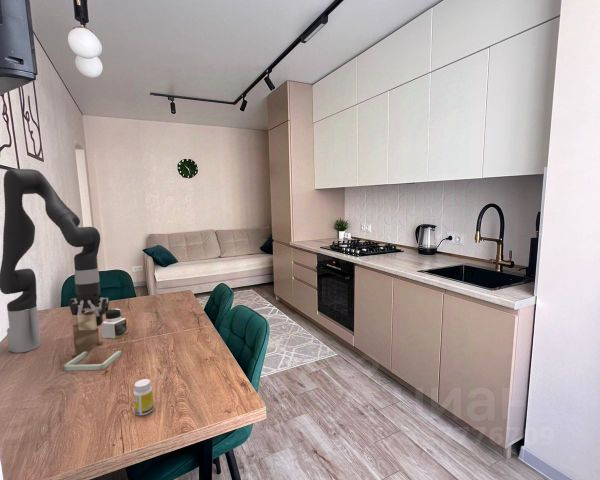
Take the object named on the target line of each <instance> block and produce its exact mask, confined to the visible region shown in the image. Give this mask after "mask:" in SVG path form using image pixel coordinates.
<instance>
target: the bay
mask: <svg viewBox="0 0 600 480" xmlns="http://www.w3.org/2000/svg"><path fill="white" fill-rule="evenodd" d="M85 354H86V356H85ZM121 355H122V350H117V351H116V352H114V353H113V354H112V355H111V356H109V357H108V358H107V359H106V360H105V361H103V362H102V363H96V364H95V363H91V364H77V363H78V362H80V361H81V360H82V359H84V358H85V357H87V356H88V352H83V353H81V354H80V355H78V356H77V357H74V358H73V359H71V360H70V361H68V362H67V363H65V364H64V365H62V366H61V369H62V372H63V371H98V370H99V371H100V370H101V371H102V370H105V369H106V368H107V367H108V366H110V365H111V364H112V363H113V362H114V361H115V360H116V359H117V358H119V357H120V356H121ZM84 356H85V357H84Z"/></svg>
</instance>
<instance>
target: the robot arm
mask: <svg viewBox="0 0 600 480" xmlns="http://www.w3.org/2000/svg"><path fill="white" fill-rule="evenodd" d="M3 194H4V195H3V198H4V221H3V222H4V223H3V233H2V234H3V235H2V259H1V266H0V292H1V293H2V294H4V295H11V294H12V295H13V294H18V293H21V294H20V296H18V297H17V298H15V299H13V300H11V301H9V302H7V304H6V308H7V319H8V327H7V329H6V332H7V341H8V352H12V353H14V354H19V353H26V352H30V351H33V350H36V349H38V348H39V347H40V346H41V345H42V343H41V335H40V326H39V325H40V324H39V315H38V305H37V299H38V297H37V296H38V295H37V294H38V293H37V278H36V274H35V272H34V270H33V269H32V268H21V269H16V267H17V265H18V264H19V262H20V260H22V258H23V256H24V255H25V254H26V253H28V251H29V250H30V249H31V248H32V246H33V245H34V243H35V234H36V226H35V223H34V222H33V220H32V219H31V217H30V216H29V215H28V213H27V212H26V210H25V208H24V205H23V196H24V195H33V194H34V195H38V196H39V197H40V198H42V199H43V201H44V208H45V209H44V210H45V213H46V216H47V217H48V218H49V219H50V221H51V222H53V224H55V225H56V226H57V227H58V228H59V230H60V232H61V234H62V235H63V237H64V239H65V241H66V243H67V244H68V245H70V246H72V247H74V248H82V250H81V251H80V252H79V253H77V254H75V255H74V257H73V262H74V263H73V264H74V284H75V285H74V286H75V295H76V297H73V298H70V299H68V300H67V301H68V302H67V303H68V305H69V308H70V312H71V314H72V316H77V317H78V315H80V314H82V313H84V312H86V311H87V309H91V311H94V312H95V314H96V323H97V326H100V325H101V324H102V323H103V322H104V319H103V315H105V313H107V312H108V310H109V305H110V297H108V296H107V297H102V296H101V286H100V285H101V283H100V282H101V281H100V273H99V268H98V253H99V249H100V243H101V234H100V232H99V230H98V229H97V228H96V227H93V226H83V227H82V226H81V227H79V226H80V223H81V219H80V218H79V216H78V215H77V214H76V213H75V212H74V211H72V209H71V208H69V207H68V206H67V205H66V203H65V202H63V200H62V198H60V197H59V195H58V194H57V192H56V190H55V189H54V187H53V186H52V185H51V183H50V182H49V180H48V179H47V178H46V177H45V175H44V174H43V173H42V172H40V171H39V170H37V169H34V168H33V169H31V168H29V169H28V168H9V169H7V170H6V171H5V173H4V176H3ZM78 304H79V305H78ZM100 327H101V326H100Z"/></svg>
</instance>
